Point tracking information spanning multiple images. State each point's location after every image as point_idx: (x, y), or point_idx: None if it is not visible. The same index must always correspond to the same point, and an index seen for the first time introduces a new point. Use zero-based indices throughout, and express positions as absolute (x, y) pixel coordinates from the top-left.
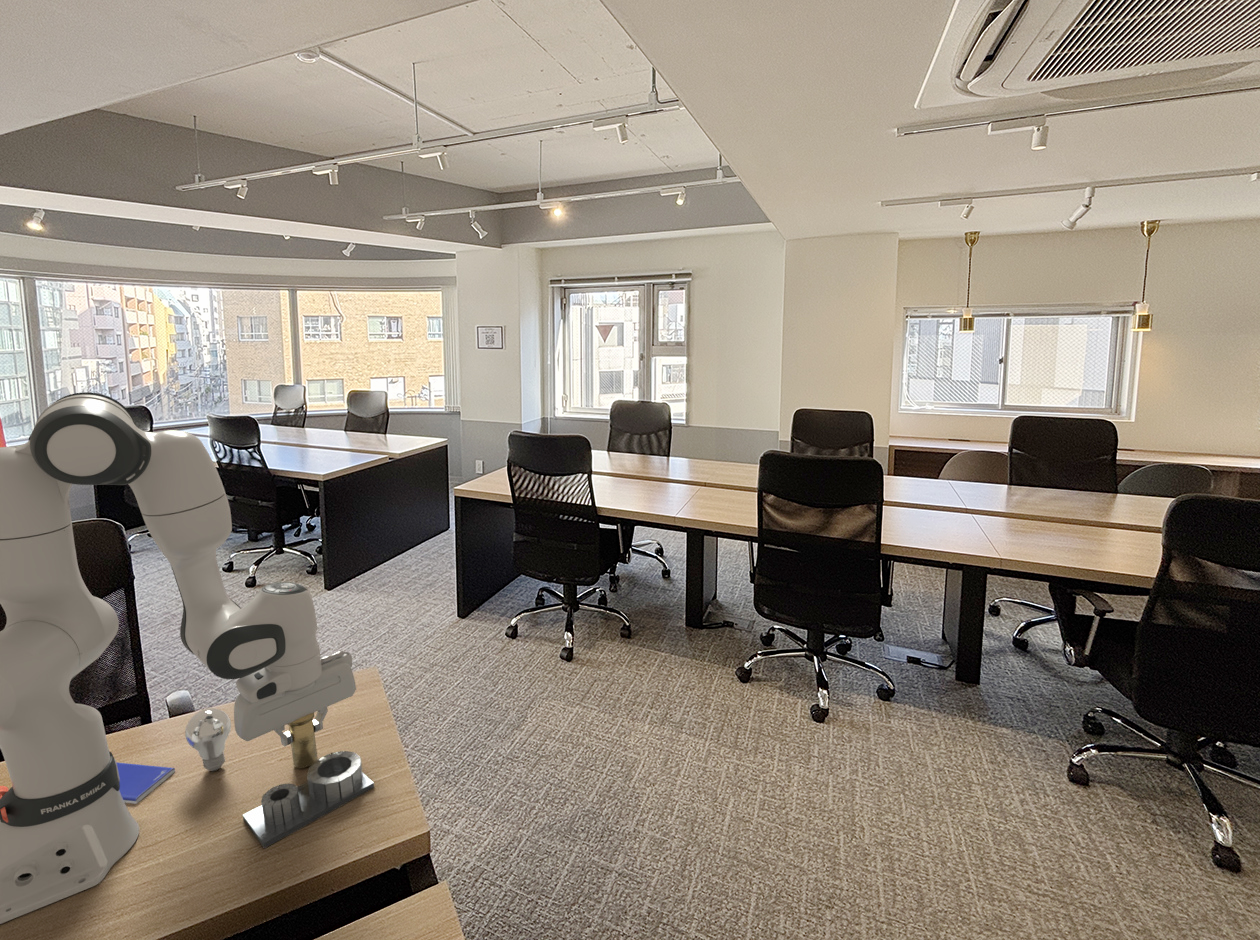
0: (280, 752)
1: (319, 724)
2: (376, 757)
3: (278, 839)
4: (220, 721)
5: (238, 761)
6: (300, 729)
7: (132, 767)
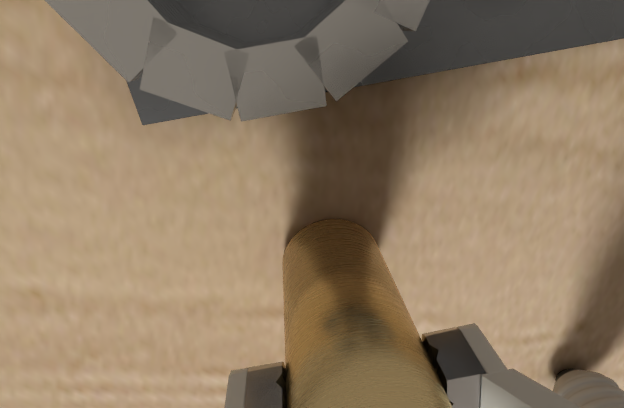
0: None
1: (247, 406)
2: (3, 92)
3: None
4: None
5: None
6: (411, 400)
7: None
